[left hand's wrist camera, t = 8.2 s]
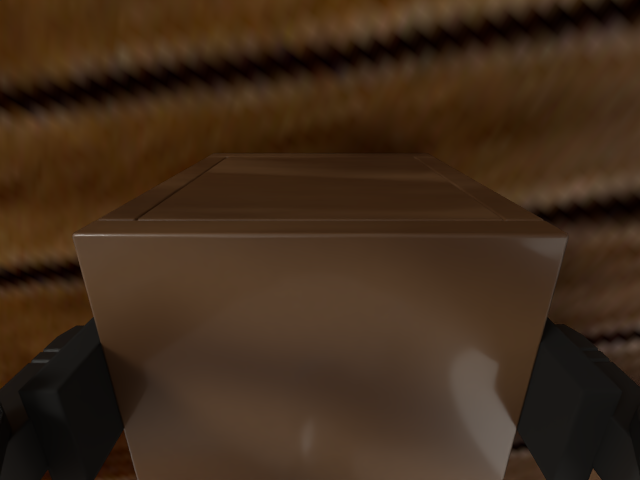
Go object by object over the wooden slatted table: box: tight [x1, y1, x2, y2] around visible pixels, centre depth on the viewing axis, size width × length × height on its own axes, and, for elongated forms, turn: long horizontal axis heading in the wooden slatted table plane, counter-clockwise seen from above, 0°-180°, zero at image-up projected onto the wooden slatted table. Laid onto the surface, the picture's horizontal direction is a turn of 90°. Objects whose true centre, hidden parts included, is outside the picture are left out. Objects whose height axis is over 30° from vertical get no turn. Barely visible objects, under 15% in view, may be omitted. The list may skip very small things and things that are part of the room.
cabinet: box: [72, 153, 569, 480], centre depth 16 cm, size 20×10×11 cm, turn 0°
